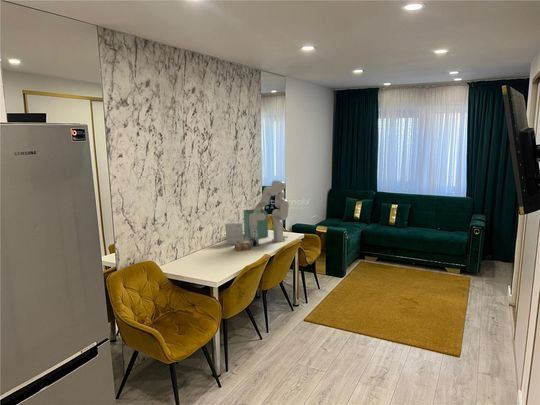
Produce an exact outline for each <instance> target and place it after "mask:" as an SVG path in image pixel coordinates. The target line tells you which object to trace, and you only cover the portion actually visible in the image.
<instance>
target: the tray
mask: <svg viewBox="0 0 540 405" xmlns="http://www.w3.org/2000/svg"><path fill="white" fill-rule="evenodd" d="M248 243H249V242H248ZM248 243H246V242H243V243H239V244H234V249H235V250H236V251H237V252H244V250H245V251H250V250H251V246H249V245H250V244H249V245H248Z"/></svg>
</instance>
